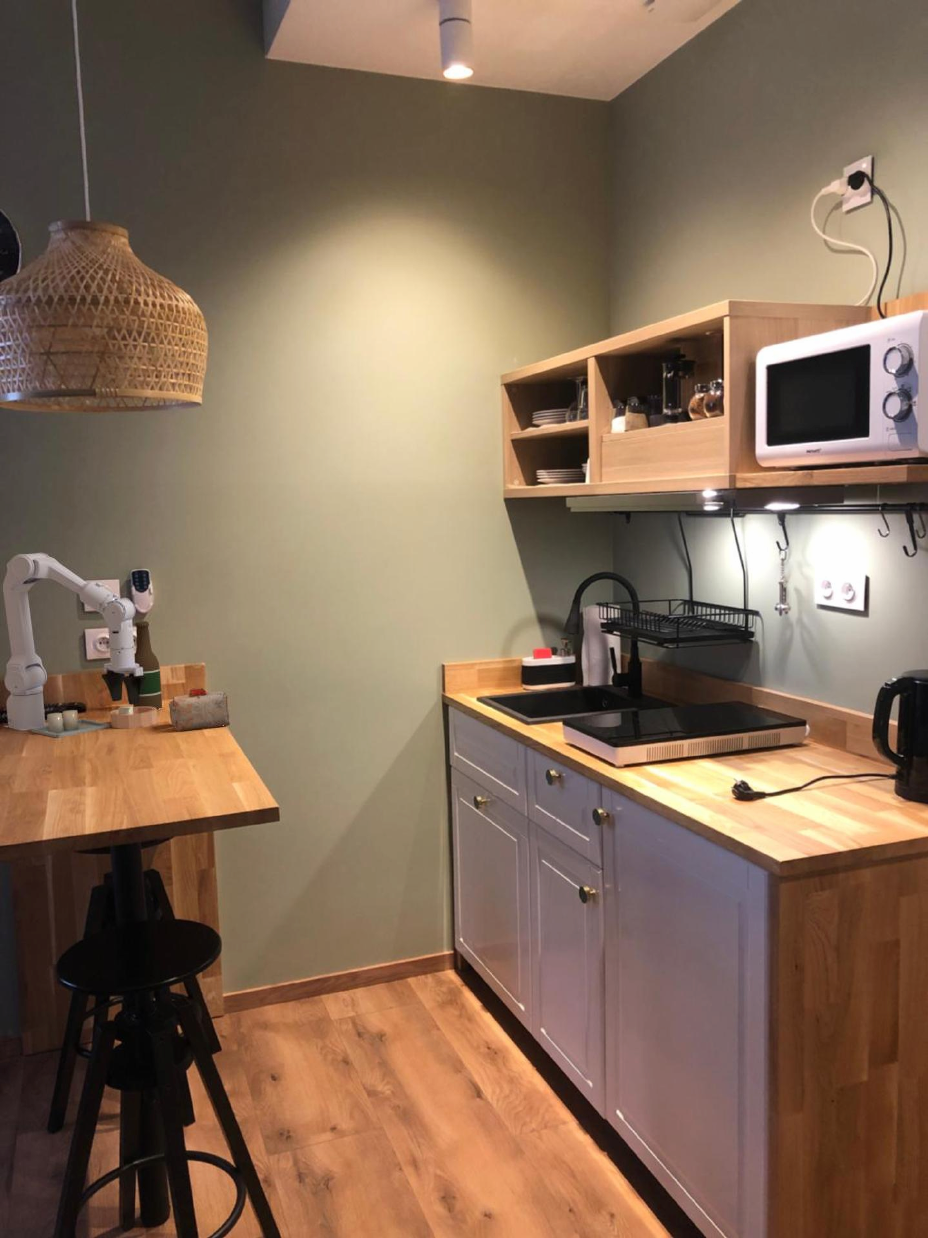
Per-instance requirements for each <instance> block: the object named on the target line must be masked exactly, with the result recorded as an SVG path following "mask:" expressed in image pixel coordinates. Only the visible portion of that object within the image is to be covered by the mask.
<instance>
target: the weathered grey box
mask: <svg viewBox="0 0 928 1238" xmlns="http://www.w3.org/2000/svg"><path fill="white" fill-rule="evenodd" d="M172 699H173V700H171V701H170V702H168V706H169V717H170V723H171V724H172V726H173V727H174V728H175V730H176V731H177V732H187V731H194V730H202V729H203V728H204V729H211V728H212V727H214V728H222V726H223V725H224V726H223V727H228V726H231V725H230V714H229V708H228V707H229V705H228V695H227V694H226V692H224V691H223V690H219V691H217V690H216V691H210V692H209V691H207V692H206V690H205V689H204V688H203V687H201V688H199V687H198V686H196V687H195V688H192V689H190V690H189V694H183V695H182V694H181V695H177V696H173V698H172ZM204 729H203V730H204Z"/></svg>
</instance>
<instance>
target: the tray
mask: <svg viewBox="0 0 928 1238" xmlns="http://www.w3.org/2000/svg"><path fill="white" fill-rule="evenodd" d="M78 726H79V729H77V730H73V731H64V724H63V732H62V733H58V734H56V733H52V732H48V726H44V727H38V728H33V729H30V732H31V733H34V734H39V735H41V736H42V735H43V736H48V737H52V738H55V739H56V738H57V739H60V738H64V737H70V736H74V735H79V734H84V733H89V732H94V731H95V732H96V731H100V730H105V729H109V728H112V727H111V723H105V722H101V721H96V720H91V719H85V718H81V719H78Z"/></svg>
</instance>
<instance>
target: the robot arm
mask: <svg viewBox="0 0 928 1238" xmlns="http://www.w3.org/2000/svg"><path fill="white" fill-rule="evenodd" d="M6 570H7V571H6V574H5V577H4V580H3V584H2V592H3V599H4V609H5V615H6V623H7V630H8V636H9V645H10V652H11V656H10V659H9V660H8V662H7V664H6V666H5V668H6V674H5V676H4V686H5V688H6V690H8V691H9V692H10V695H8V698H7V700H6V716H7V725H9V726H7V725H4V727H5V728H8V727H9V729H12V728H13V730H17V731H28V730H31V729H33V728H38V727H44V726H48V722H46V718H45V717H46V716H45V706H44V695H43V694H44V693H43V692H44V691H43V690H44V685H45V684H46V682H47V681H48V680H47V679H48V675H47V671H46V669H45V667H44V665H43V663H42V662H43V661H42V659H41V657H40V656H39V655H38V654H37V653H36V649H35V648H36V647H35V644H34V643H35V641H34V634H33V627H32V618H31V610H30V604H29V595H28V592H29V591H30V589H31V588H32V587H33V586H34V585H35V584H36V583H37V582H39V581H40V580H43V579H52V580H53V581H56V582H57V583H59V584H61V585H63V586H64V587H66V588H68V589H69V590H71V591H73V592H75V593H77V594H78V595H79V600H80V602H82V603H83V604H85V605H87V606H89V607H90V608H91V609H93V610H94V611H96V612H98V613H99V614H101V615H102V618H103V619H104V621H105V622H106V623H107V629H108V641H109V642H108V643H109V644H108V645H109V657H110V658H109V659H110V662H109V663H104V664H103V671H104V672H105V673H103V674H101V678H102V679H103V681H104V682H105V684H106V686H107V688H108V691H109V694H110V698H111V700H112V702H115V703H116V702H119V701H122V699H123V684H124V686H125V690H126V695H127V700H128V704H129V706H133V704H137V703H138V702H139V697H140V692H141V688H142V685H143V683H144V681H145V679H146V675H143V667H139V664H136V663H135V656H134V654H135V643H134V631H133V630H134V629H133V627H134V626H133V618H134V617H135V615H136V610H137V609H136V606H135V604H134V603H133V602H132V601H131V600H130V599H129V598H127V597H122V598H120V595H119V594H118V593H113V592H111V591H110V590H109V589H107V588H105V587H104V584H103V583H102V582H99V581H98V582H96V581H91V582H86V581H85V580H84V579H82V578H81V577H80V576H79V575H77V574H75V573H74V572H72V571H71V570H70V569H68V568H67V567H65V566H64V565H63V564H61V563H60V562H59V561H57V559H56V558H53V557H51V556H49V555H48V554H47V553H44V552H36V553H19V554H16V555H15V556H13V557H11V559H10V560H9V561H8V562H7V563H6Z"/></svg>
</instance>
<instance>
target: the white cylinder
mask: <svg viewBox="0 0 928 1238" xmlns="http://www.w3.org/2000/svg"><path fill="white" fill-rule="evenodd" d="M46 718H47V719H46V720H47V723H48V732H52V733H56V734H58V733H62V732H63V712H62V713H61V712H51V713H48V714H46Z"/></svg>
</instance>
